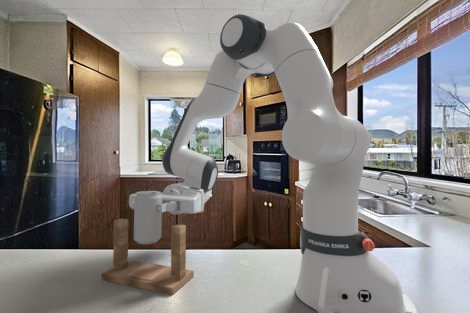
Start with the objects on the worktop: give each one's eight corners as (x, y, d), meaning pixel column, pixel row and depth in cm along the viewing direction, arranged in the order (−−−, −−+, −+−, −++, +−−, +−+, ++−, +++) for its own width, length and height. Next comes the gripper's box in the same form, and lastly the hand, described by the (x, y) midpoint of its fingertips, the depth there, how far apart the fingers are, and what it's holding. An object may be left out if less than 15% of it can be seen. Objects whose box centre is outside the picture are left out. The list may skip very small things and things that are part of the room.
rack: (193, 276, 63) (193, 222, 63) (172, 295, 54) (173, 231, 54) (128, 265, 70) (129, 215, 70) (101, 279, 61) (101, 223, 61)
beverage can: (152, 246, 58) (154, 193, 59) (127, 244, 60) (129, 192, 60) (165, 238, 65) (166, 190, 65) (142, 236, 66) (143, 189, 66)
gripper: (148, 185, 78) (112, 191, 65) (208, 189, 71) (182, 196, 58) (148, 206, 78) (112, 216, 65) (208, 212, 71) (181, 224, 58)
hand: (145, 207), depth 61 cm, fingers closed on beverage can, 6 cm apart
